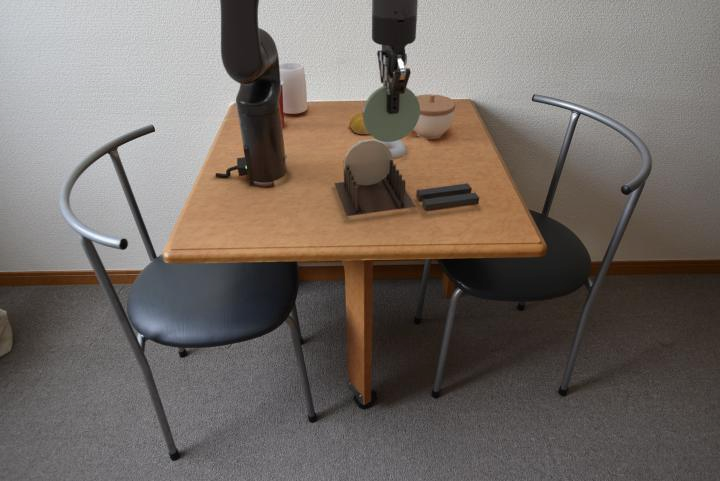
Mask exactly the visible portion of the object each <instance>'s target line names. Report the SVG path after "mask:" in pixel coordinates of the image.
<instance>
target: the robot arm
mask: <svg viewBox="0 0 720 481" xmlns="http://www.w3.org/2000/svg"><path fill="white" fill-rule="evenodd" d="M219 1H220V2H219V3H220V57H221V62H222V66H223V68H224V70H225V72H226V74H227V75H228V76H229V78H231V79H232V81H234V82H236V83H238V84H239V89H238V92H237V94H236V97H235V107H236V111H237V117H238V123H239V129H240V135H241V140H242V148H243V149H242V150H243V155H244V156H243V157H236V165H234V166H230V167H228V168H227V169H225V173H221V172H216V173H215V177H216V178H225V179H227V178H229V177H231V175H232V173H231V172H233V171H237V174H238V177H245V176H247V179H248V184H249V186H256V187H266V188H267V187H274V186H275V181H278V180H280V179H282V178H284V177H285V176H286V175H287V173H288V166H287V155H286V150H285V142H284V140H285V139H284V133H283V132H284V131H283V128H282V123H281V114H280V105H279V98H280V92H281V82H280V68H279V64H280V58H279V52H278V48H277V45H276V42H275V40H274V39H273V37H272V35H270V33H268V31H266V30H265V29H263V28H261V27H259V4H260V0H219ZM418 4H419V0H371V40H372V41H373V42H374V43H375V44H377V45H380V46H381V50H377V52H376V55H377V62H378V70H379V78H380V83H381V84H382V87H383V86H386V85H387V113H388V114H397V113H398V112H399V98H400V94H404V93H405V89H406V87H407V86H408V83H409V79H410V76H411V73H412V72H411V68H409V67H407V68H406V65H407V64H408V55H407V53H406V46H407V45H410V44H413V43H414V42H415V41H416V39H417V25H418V24H417V23H418V20H417V19H418Z"/></svg>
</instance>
